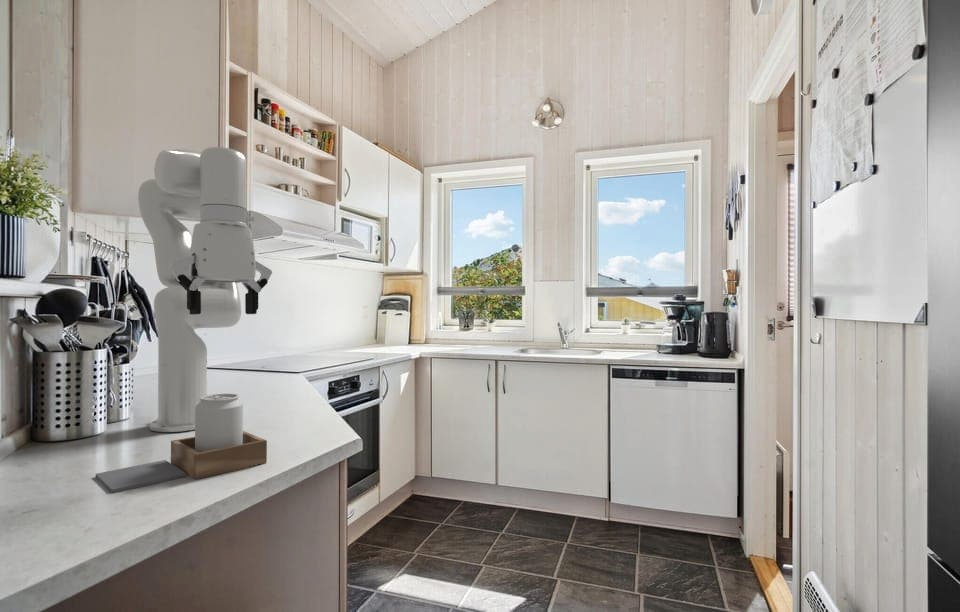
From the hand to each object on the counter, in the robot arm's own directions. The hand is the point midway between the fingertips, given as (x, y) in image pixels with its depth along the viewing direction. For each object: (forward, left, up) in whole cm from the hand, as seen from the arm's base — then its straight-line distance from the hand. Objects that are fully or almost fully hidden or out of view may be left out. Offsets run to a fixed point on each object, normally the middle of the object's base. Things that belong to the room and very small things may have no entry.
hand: (224, 314), depth 91 cm
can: (+1, -1, -27) cm, 27 cm away
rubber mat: (-1, -12, -26) cm, 29 cm away
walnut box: (+1, -1, -26) cm, 26 cm away
